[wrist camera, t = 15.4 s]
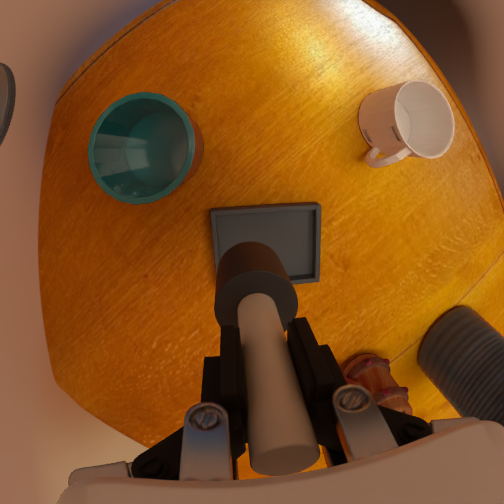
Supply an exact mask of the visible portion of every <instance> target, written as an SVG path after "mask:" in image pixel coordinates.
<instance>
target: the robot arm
mask: <svg viewBox="0 0 504 504" xmlns="http://www.w3.org/2000/svg"><path fill="white" fill-rule="evenodd" d="M287 344H288V347H289V350H290V354H291V357H292V360H293V363H294V367H295V370H296V373H297V377H298V380H299V383H300V387H301V390H302V393H303V396H304V400H305V403H306V406H307V410H308V413H309V416H310V419H311V423H312V426H313V429H314V433H315V436H316V439H317V443H318V444H320V445H322V450H323V454H324V457H325V460H326V464H327V467H328V468H324V469H319V470H314V471H309V472H303V473H297V474H291V475H284V476H277V477H268V478H259V479H247V480H239V474H238V461H237V458H239V457H240V456H241V455H242V454H243V453H244V452H245V450H246V446H245V443H248V437H247V426H246V419H247V406H246V395H245V384H244V372H243V360H242V348H241V338H240V328H239V327H238V328H234V324H232V325H221V341H220V356H214V357H205V358H204V367H203V379H202V392H201V403H198V404H196V405H194V406H192V407H191V408H190V409H189V410H188V411H187V412H186V415H185V419H184V426H183V427H182V428H180V429H179V430H177V431H176V432H174V433H173V434H171V435H170V436H168V437H167V438H165V439H164V440H162V441H161V442H159V443H158V444H156V445H154V446H153V447H151V448H150V449H148V450H147V451H145V452H143V453H142V454H140V455H139V456H138V457H137V458H135V459H134V461H133V462H130V463H126V462H125V461H122V462H116V463H111V464H105V465H99V466H92V467H84V468H79V469H76V470H74V471H73V472H72V473H71V474H70V476H69V480H68V484H69V487H68V488H66V489H65V490H64V492H63V493H62V494H61V496H60V498H59V500H58V502H57V504H504V427H503V426H502V425H500V424H499V423H497V422H493V421H481V420H479V419H478V418H475V417H463V418H453V419H440V420H431V421H430V423H427V422H426V421H424V420H423V419H421V418H418V417H415V416H412V415H408V414H405V413H402V412H399V411H396V410H393V409H390V408H387V407H384V406H381V405H378V404H376V402H375V400H374V398H373V396H372V394H371V393H370V392H369V390H367V389H366V388H364V387H362V386H360V385H354V384H349V385H348V384H347V382H346V380H345V378H344V376H343V374H342V372H341V370H340V368H339V366H338V364H337V361H336V359H335V357H334V355H333V353H332V351H331V349H330V347H329V346H328V345H327V344H326V345H318V343H317V341H316V339H315V336H314V334H313V332H312V330H311V328H310V325H309V323H308V321H307V319H306V317H302V318H294V319H292V322H289V323H288V325H287Z"/></svg>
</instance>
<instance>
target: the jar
mask: <svg viewBox="0 0 504 504" xmlns="http://www.w3.org/2000/svg"><path fill="white" fill-rule="evenodd" d="M203 151H204V143H203V137H202V134H201V131H200V129H199V127H198V125H197V124H196V123H195V122H194V120H193V119H192V118H191V117H190V116H189V115H188V114H187V113H186V112H185V111H184V110H183V109H182V108H181V107H180V106H179V105H178V104H177V103H176V102H175V101H173V100H171V99H169V98H168V97H166V96H164V95H162V94H157V93H149V92H141V93H136V94H131V95H128V96H125V97H123V98H121V99H119V100H118V101H116V102H114V103H112V104H111V105H110V106H109V107H108V108H107V109H106V110H105V111H104V112H103V113H102V114H101V116H100V117H99V119H98V120H97V122H96V124H95V126H94V128H93V130H92V132H91V136H90V141H89V146H88V157H89V166H90V169H91V171H92V174H93V176H94V179H95V180H96V182H97V183H98V184H99V186H100V187H101V188H102V189H103V190H104V192H105V193H107V194H108V195H110V196H112V197H113V198H115V199H117V200H118V201H120V202H125V203H130V204H136V205H137V204H145V203H152V202H154V201H157V200H159V199H161V198H163V197H165V196H167V195H169V194H170V193H172V192H173V191H174V190H176V189H177V188H179V187H180V186H182V185H183V184H184V183H185V182H186V181H188V180H189V179H190V178H191V177H192V176H193V175H194V173H195V172H196V171H197V169H198V167H199V165H200V163H201V160H202V157H203Z"/></svg>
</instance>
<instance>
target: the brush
mask: <svg viewBox="0 0 504 504" xmlns="http://www.w3.org/2000/svg"><path fill="white" fill-rule="evenodd" d="M297 310H298V299H297V295H296V292H295V290H294V288H293V286H292V283H291V281H290V279H289V277H288V275H287V273H286V271H285V269H284V267H283V265H282V263H281V261H280V258H279V257H278V255H277V254H276V252H275V251H274V250H273V249H271V248H270V247H269V246H267V245H265V244H262V243H259V242H253V241H249V242H242V243H239V244H236V245H234V246H233V247H231V248H230V249H228V250H227V251H226V252H225V253H224V254H223V256H222V257H221V259H220V261H219V264H218V268H217V279H216V292H215V304H214V311H215V317H216V319H217V322H218V324H219V325H220V327H221V325H232V324H234V328H238V327H239V328H240V338H241V348H242V360H243V372H244V384H245V395H246V406H247V419H246V426H247V437H248V447H249V458H250V466H251V468H252V469H253V470H254V471H255V472H257V473H259V474H262V475H268V476H283V475H289V474H294V473H297V472H300V471H303V470H305V469H307V468H309V467H310V466H312V465H313V464H314V463H316V462H317V460H318V459H319V457H320V449H319V446H318V443H317V439H316V436H315V433H314V429H313V426H312V423H311V419H310V416H309V413H308V410H307V406H306V403H305V400H304V396H303V393H302V390H301V387H300V383H299V380H298V377H297V373H296V370H295V367H294V363H293V360H292V357H291V354H290V350H289V347H288V344H287V340H286V337H285V334H284V332H285V331H286V330H287V325H288V323H289V322H292V319H294V318H295V317H296V314H297Z"/></svg>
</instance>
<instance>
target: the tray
mask: <svg viewBox="0 0 504 504" xmlns="http://www.w3.org/2000/svg"><path fill="white" fill-rule="evenodd" d="M210 216H211V227H212V238H213V248H214V258H215V268H216V277H217V268H218V264H219V261H220V259H221V257H222V256H223V254H224V253H225V252H226V251H227V250H228V249H230V248H231V247H233V246H234V245H236V244H239V243H242V242H249V241H253V242H259V243H262V244H265V245H267V246H269V247H270V248H271V249H273V250H274V251H275V252H276V254H277V255H278V257H279V258H280V261H281V263H282V265H283V267H284V269H285V271H286V273H287V275H288V277H289V279H290V281H291V283H292V284H302V283H312V282H319V274H320V241H321V205H320V204H318V203H317V202H305V203H284V204H266V205H251V206H236V207H223V208H211V211H210Z"/></svg>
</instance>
